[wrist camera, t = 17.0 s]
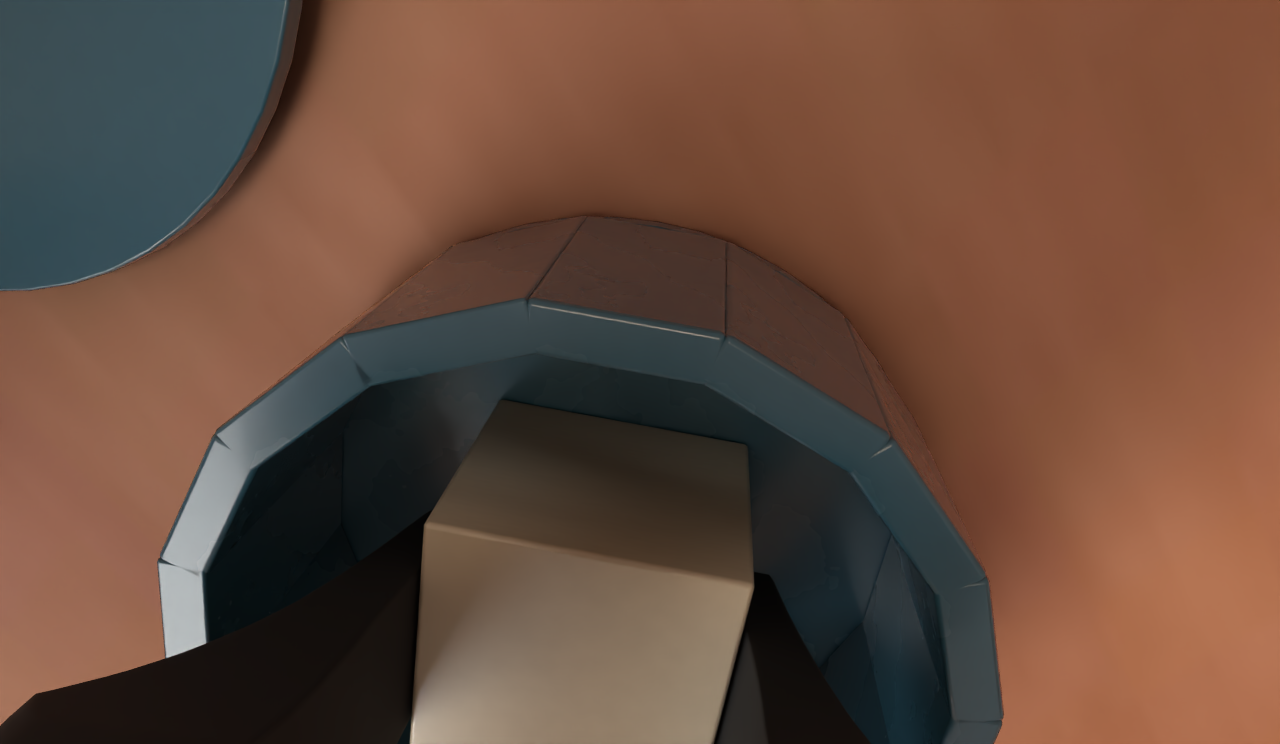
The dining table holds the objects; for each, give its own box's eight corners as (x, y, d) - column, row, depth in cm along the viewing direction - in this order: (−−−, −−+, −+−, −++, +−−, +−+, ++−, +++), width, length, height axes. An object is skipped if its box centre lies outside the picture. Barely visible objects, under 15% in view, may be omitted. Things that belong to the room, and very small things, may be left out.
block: (478, 600, 17) (406, 767, 13) (499, 396, 15) (422, 522, 11) (702, 642, 17) (694, 824, 13) (748, 443, 15) (756, 586, 11)
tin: (316, 686, 19) (184, 899, 14) (318, 160, 14) (126, 225, 10) (834, 788, 19) (868, 1038, 14) (1007, 283, 14) (1142, 410, 9)
